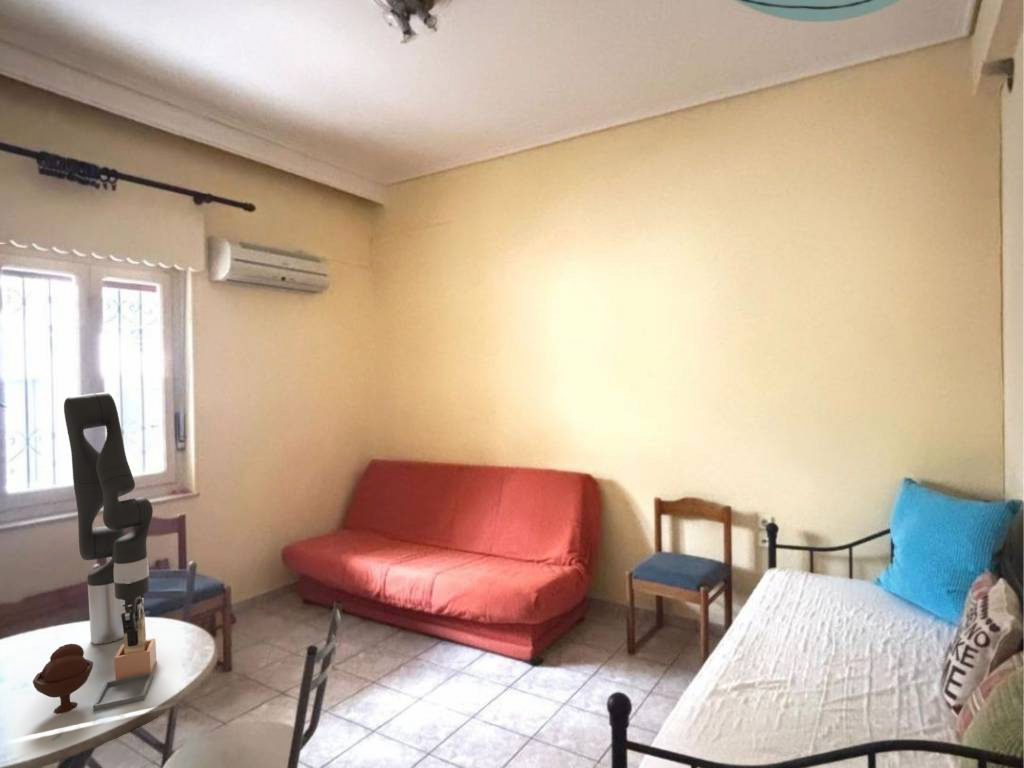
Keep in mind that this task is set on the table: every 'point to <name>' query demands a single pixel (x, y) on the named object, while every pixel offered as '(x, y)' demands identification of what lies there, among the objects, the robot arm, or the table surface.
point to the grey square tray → (123, 691)
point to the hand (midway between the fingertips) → (135, 641)
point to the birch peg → (141, 638)
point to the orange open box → (135, 661)
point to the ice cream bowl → (64, 675)
